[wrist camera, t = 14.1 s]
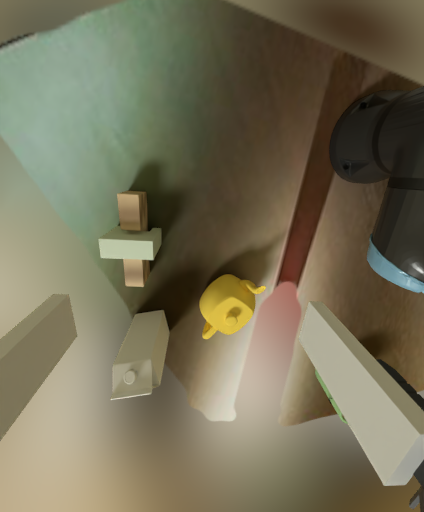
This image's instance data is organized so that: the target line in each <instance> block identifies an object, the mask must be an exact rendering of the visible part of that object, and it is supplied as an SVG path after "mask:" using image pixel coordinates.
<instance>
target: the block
mask: <svg viewBox="0 0 424 512" xmlns="http://www.w3.org/2000/svg"><path fill="white" fill-rule="evenodd" d="M161 244H162V240H161V228H152V229H151V231H150V232H149V231H129V230H123V229H121V228H120V226H116V227H115V228H114V229H112V230H111V231H109V232H108V233H106V234H105V235H103V236H102V237H100V238H99V246H100V254H101V258H115V259H139V260H154V258H155V256H156V254H157V252H158V250H159V248H160V246H161Z"/></svg>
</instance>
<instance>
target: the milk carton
mask: <svg viewBox="0 0 424 512" xmlns="http://www.w3.org/2000/svg"><path fill="white" fill-rule="evenodd" d="M169 333H170V332H169V328H168V324H167V321H166V317H165V314H164V310H159V311H152V312H146V313H139V314H135V316H134V318H133V321H132V323H131V325H130V327H129V330H128V332H127V334H126V336H125V339H124V341H123V343H122V345H121V348H120V350H119V352H118V354H117V357H116V359H115V361H114V364H113V388H112V390H113V391H112V393H113V394H112V396H111V400H114V399H121V398H127V397H134V396H141V395H148V394H151V393H152V388H154V387H157V386H160V382H161V377H162V371H163V366H164V360H165V355H166V350H167V344H168V339H169Z"/></svg>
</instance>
